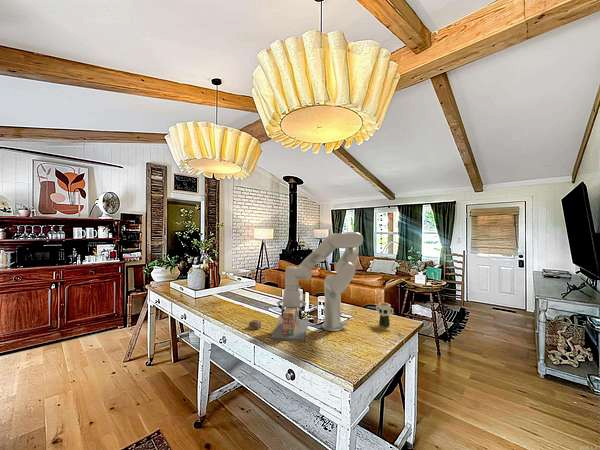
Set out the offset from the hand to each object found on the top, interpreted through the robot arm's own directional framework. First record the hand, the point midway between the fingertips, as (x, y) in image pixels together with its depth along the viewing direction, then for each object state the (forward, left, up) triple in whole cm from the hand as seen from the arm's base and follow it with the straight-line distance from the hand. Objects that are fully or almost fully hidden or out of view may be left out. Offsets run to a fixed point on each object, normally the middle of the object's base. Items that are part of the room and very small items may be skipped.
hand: (291, 316), depth 154 cm
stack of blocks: (0, -1, -7) cm, 7 cm away
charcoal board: (0, 0, -8) cm, 8 cm away
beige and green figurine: (-56, -15, -8) cm, 59 cm away
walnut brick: (+22, -1, -8) cm, 23 cm away
